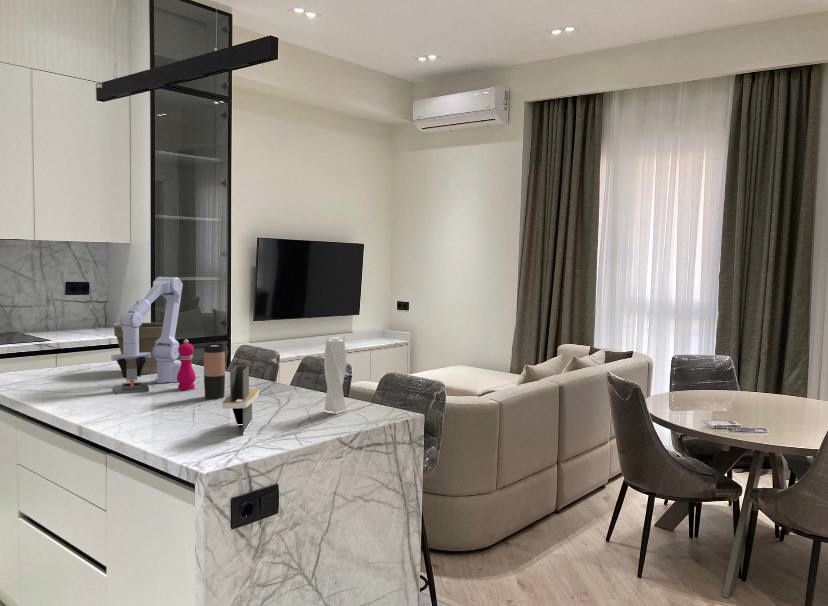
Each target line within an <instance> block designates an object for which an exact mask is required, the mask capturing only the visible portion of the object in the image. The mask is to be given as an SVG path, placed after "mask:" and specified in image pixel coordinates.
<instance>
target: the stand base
mask: <svg viewBox="0 0 828 606" xmlns="http://www.w3.org/2000/svg"><path fill="white" fill-rule="evenodd" d="M146 391H149V392H150V388H149V385H148V383H142V382H141V381H140V382H134V381H130V382H123V383H121V385H114V392H115V393H114V394H115V395H119V394H118V393H125V394H133V393H132V392H140V393H147V392H146Z"/></svg>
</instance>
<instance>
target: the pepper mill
mask: <svg viewBox="0 0 828 606" xmlns="http://www.w3.org/2000/svg"><path fill="white" fill-rule="evenodd" d="M178 352H179V360H180V364H181V366H180V370H179V372H178V375H177V381H178V382H177V383H179V384H177V389H178V390H179V389H180V390H179V391H189V390H188V389H192V390H194V389H195V388H196V387H195V386H196V385H195V383H194V382H195V381H197V380H196V379H197V377H196V376H197V375H196V373H195V370H194V368H193V365H192V361H193V360H192V359H193V356H194V355H193V353H194V352H195V348H194V345H192V344H191V343H189V340H188V339H187V338H186V339H184V340H183V343H182V344H179V348H178Z"/></svg>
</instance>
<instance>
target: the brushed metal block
mask: <svg viewBox="0 0 828 606" xmlns="http://www.w3.org/2000/svg"><path fill="white" fill-rule="evenodd" d="M126 373H127V378H125V383H130V381H134V383H138V381H139V379H138V376H137V367H127V368H126Z"/></svg>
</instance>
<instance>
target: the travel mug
mask: <svg viewBox="0 0 828 606" xmlns="http://www.w3.org/2000/svg"><path fill="white" fill-rule="evenodd" d="M225 349H226V348H225V344H223V343H207V344H204V345H203V385H204V399H206V398H209V399H208V400H219V399H218V398H221V399H223V397H224V398H225V392H226V391H225V388H226V386H225V385H226V382H225V381H226V360H225V359H226V357H225V356H226V355H225V353H226V352H225V351H226V350H225Z"/></svg>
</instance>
